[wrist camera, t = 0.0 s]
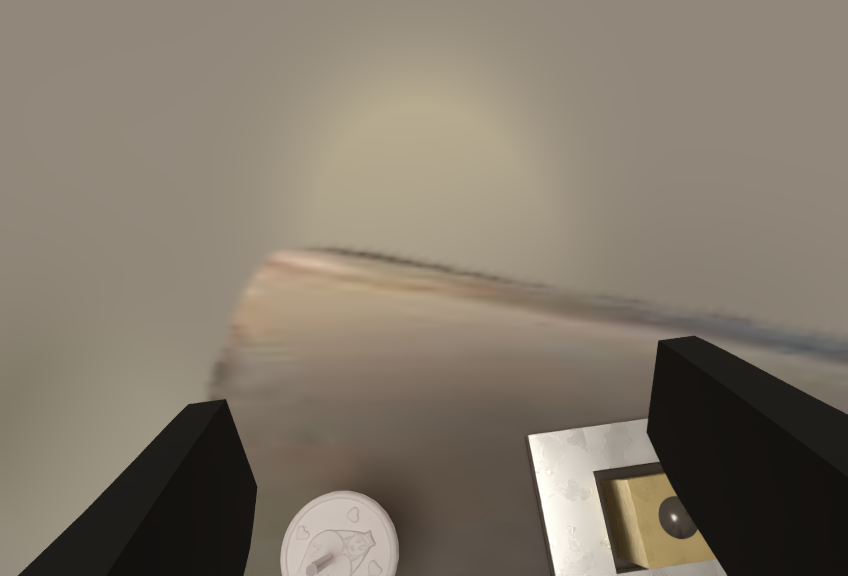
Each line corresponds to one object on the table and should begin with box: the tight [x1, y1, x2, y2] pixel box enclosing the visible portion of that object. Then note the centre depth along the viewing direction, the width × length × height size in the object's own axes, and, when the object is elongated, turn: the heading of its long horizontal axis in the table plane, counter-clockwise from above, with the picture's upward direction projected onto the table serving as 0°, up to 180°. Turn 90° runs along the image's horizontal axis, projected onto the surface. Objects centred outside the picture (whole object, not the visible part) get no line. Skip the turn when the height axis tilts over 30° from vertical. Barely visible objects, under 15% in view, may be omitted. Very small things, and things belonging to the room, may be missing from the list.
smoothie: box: [281, 491, 399, 576], centre depth 31 cm, size 6×6×14 cm
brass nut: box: [600, 472, 716, 569], centre depth 35 cm, size 5×5×6 cm
